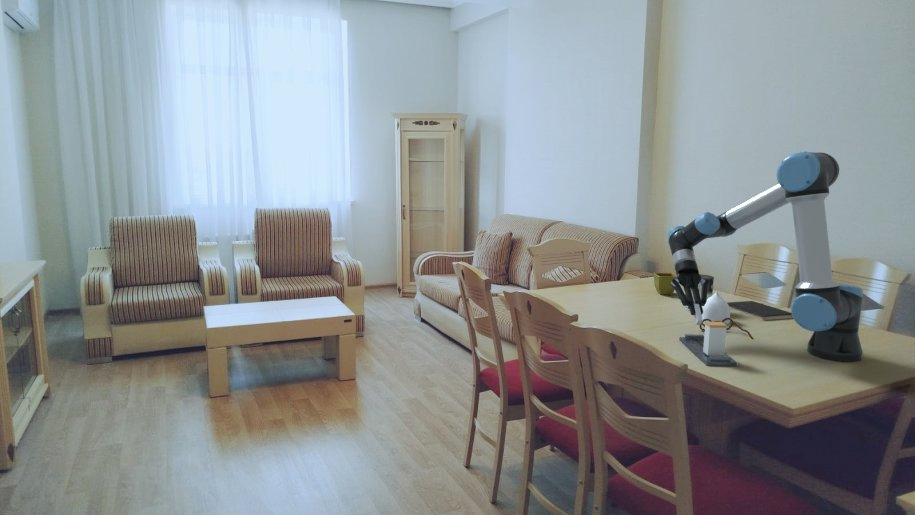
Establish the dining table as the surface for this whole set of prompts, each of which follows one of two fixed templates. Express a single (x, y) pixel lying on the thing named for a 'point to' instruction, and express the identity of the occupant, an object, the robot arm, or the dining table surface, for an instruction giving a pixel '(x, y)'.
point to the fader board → (696, 347)
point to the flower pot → (664, 283)
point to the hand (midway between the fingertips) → (699, 322)
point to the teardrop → (716, 309)
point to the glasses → (728, 327)
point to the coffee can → (709, 287)
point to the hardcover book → (759, 310)
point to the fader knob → (714, 338)
